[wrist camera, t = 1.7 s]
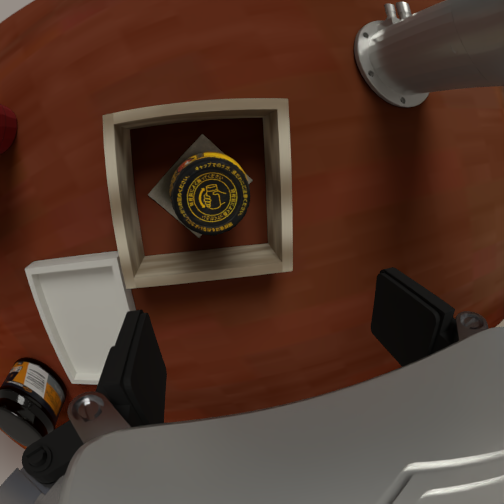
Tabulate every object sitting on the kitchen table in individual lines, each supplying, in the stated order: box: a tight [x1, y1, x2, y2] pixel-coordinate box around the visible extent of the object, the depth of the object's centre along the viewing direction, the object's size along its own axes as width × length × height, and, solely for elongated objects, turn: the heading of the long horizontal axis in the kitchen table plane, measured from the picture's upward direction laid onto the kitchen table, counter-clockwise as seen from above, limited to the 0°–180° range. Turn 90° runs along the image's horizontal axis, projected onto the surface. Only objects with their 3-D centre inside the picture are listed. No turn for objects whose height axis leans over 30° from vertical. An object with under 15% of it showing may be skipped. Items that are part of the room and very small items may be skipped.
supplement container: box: [0, 357, 66, 447], centre depth 28 cm, size 10×10×12 cm
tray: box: [25, 251, 136, 384], centre depth 31 cm, size 18×13×2 cm
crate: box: [103, 98, 293, 289], centre depth 26 cm, size 16×16×6 cm
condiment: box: [148, 134, 253, 238], centre depth 24 cm, size 7×8×12 cm
